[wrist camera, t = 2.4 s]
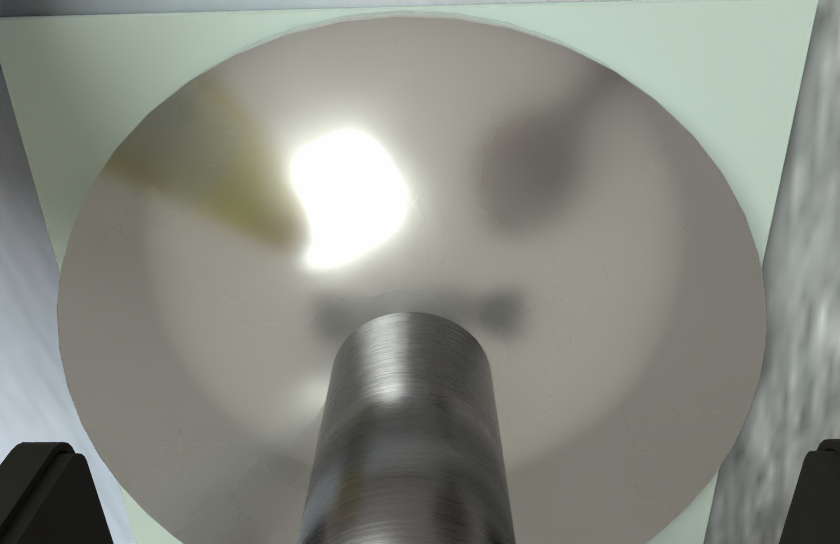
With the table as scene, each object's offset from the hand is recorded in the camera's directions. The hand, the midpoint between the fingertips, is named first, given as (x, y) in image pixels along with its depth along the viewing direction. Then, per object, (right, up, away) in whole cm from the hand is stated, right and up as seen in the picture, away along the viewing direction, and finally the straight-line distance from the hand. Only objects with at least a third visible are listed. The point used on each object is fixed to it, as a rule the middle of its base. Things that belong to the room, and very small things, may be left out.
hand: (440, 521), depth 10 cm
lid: (0, +2, +5) cm, 5 cm away
